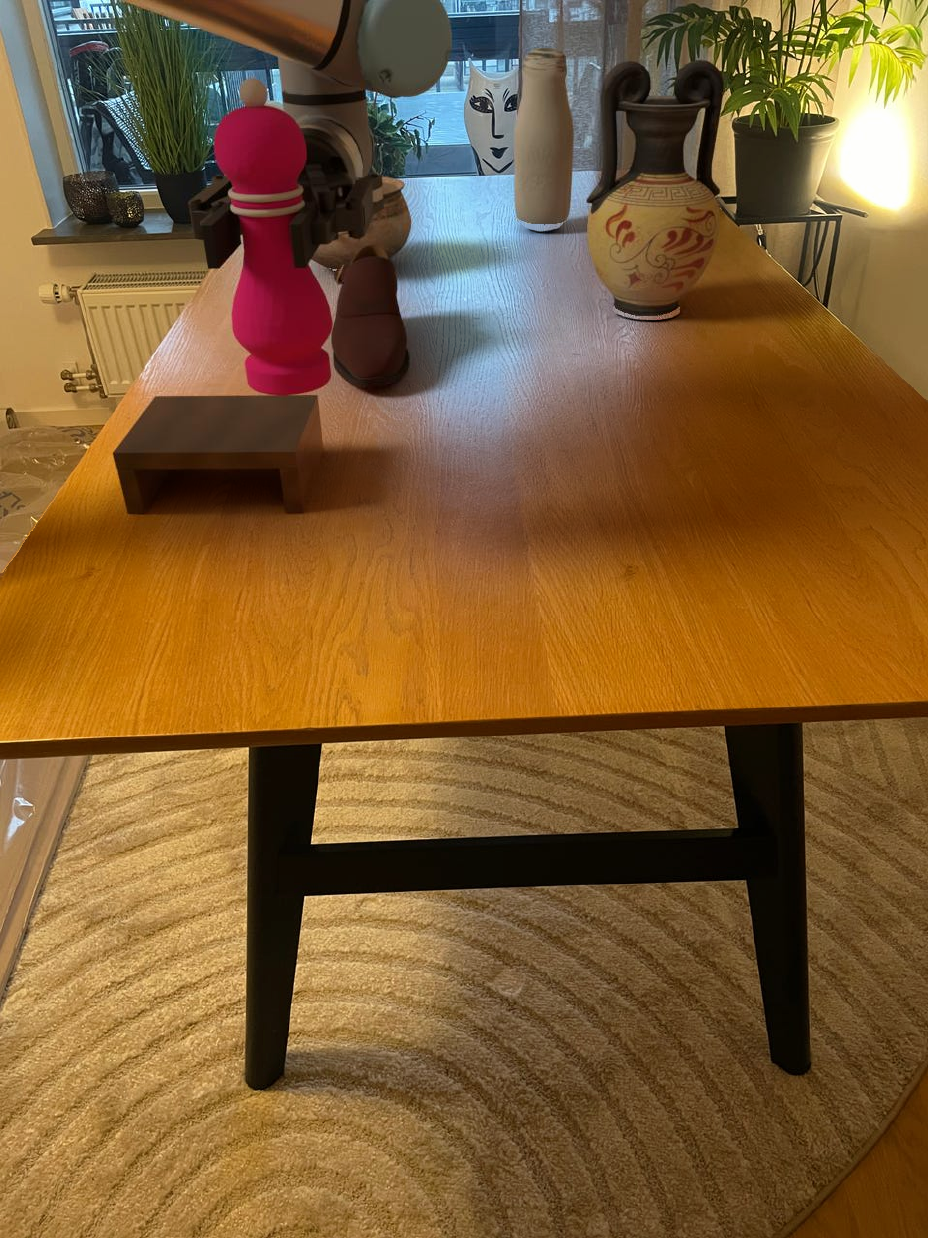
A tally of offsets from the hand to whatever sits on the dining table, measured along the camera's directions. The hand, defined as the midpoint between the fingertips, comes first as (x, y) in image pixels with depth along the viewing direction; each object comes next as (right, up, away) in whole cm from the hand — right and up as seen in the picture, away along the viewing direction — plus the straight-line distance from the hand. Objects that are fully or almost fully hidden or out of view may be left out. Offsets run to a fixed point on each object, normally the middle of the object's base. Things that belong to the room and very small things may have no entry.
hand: (254, 246), depth 62 cm
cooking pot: (-4, +31, +91) cm, 96 cm away
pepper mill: (0, -6, +11) cm, 12 cm away
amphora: (+38, +18, +71) cm, 83 cm away
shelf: (-9, -11, +30) cm, 33 cm away
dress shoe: (+2, +8, +58) cm, 59 cm away
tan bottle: (+27, +45, +110) cm, 122 cm away
